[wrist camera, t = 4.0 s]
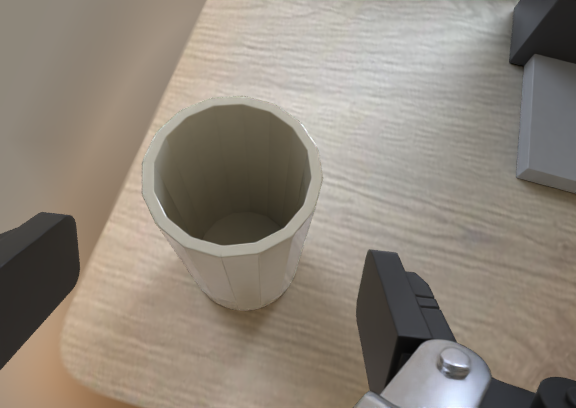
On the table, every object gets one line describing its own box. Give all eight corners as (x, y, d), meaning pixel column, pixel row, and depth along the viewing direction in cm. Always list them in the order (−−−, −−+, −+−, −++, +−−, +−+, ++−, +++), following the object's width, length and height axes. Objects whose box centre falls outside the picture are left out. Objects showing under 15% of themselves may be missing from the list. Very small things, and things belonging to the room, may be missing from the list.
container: (177, 293, 21) (111, 226, 12) (214, 199, 23) (181, 78, 14) (280, 324, 21) (295, 279, 11) (307, 225, 23) (339, 120, 13)
